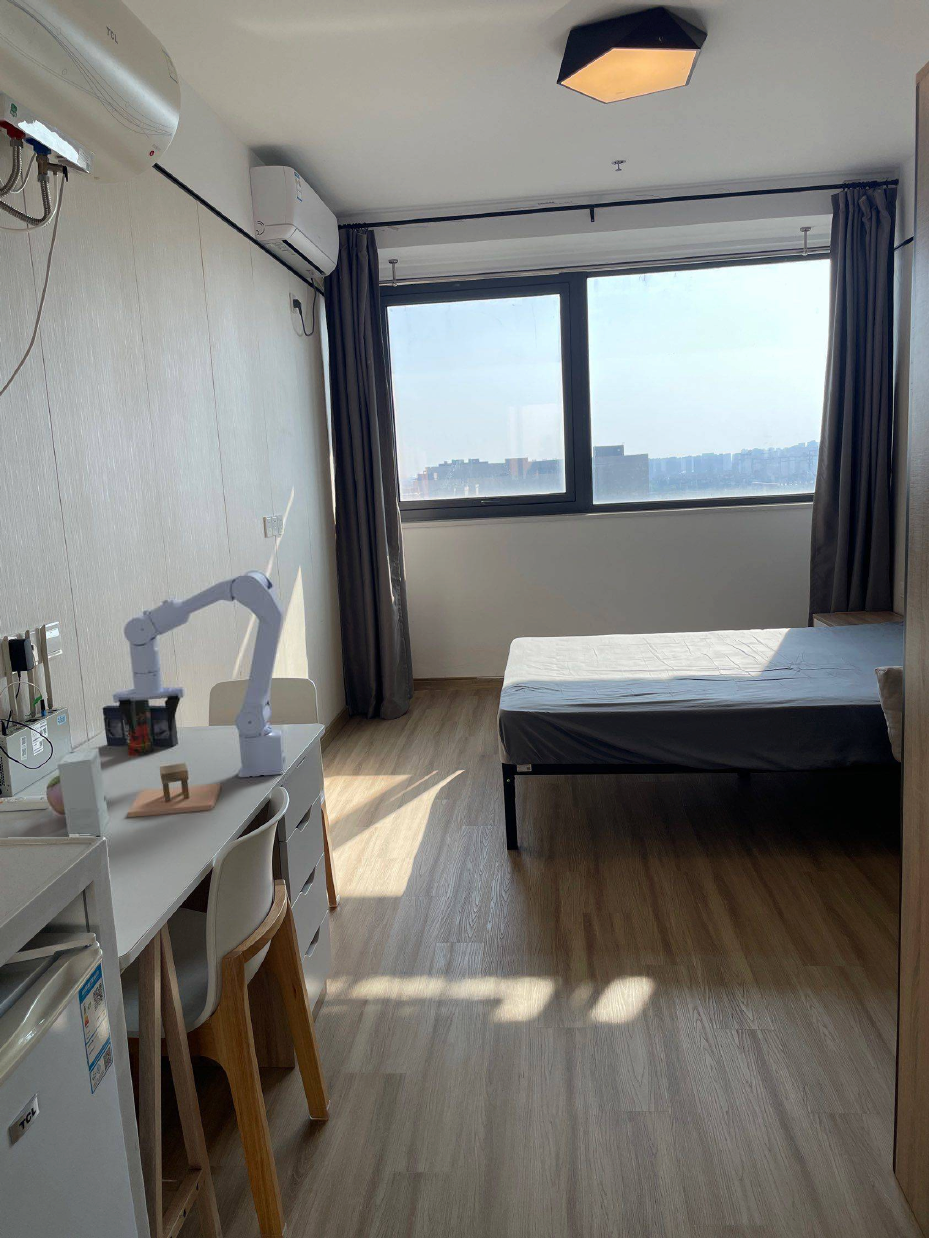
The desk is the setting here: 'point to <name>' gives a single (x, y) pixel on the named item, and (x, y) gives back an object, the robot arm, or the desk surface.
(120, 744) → the vhs cassette tape
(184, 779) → the stool
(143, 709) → the deodorant
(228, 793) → the desk surface
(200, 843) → the desk surface
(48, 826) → the desk surface
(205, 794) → the mat
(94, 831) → the skincare box
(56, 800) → the decorative fruit
